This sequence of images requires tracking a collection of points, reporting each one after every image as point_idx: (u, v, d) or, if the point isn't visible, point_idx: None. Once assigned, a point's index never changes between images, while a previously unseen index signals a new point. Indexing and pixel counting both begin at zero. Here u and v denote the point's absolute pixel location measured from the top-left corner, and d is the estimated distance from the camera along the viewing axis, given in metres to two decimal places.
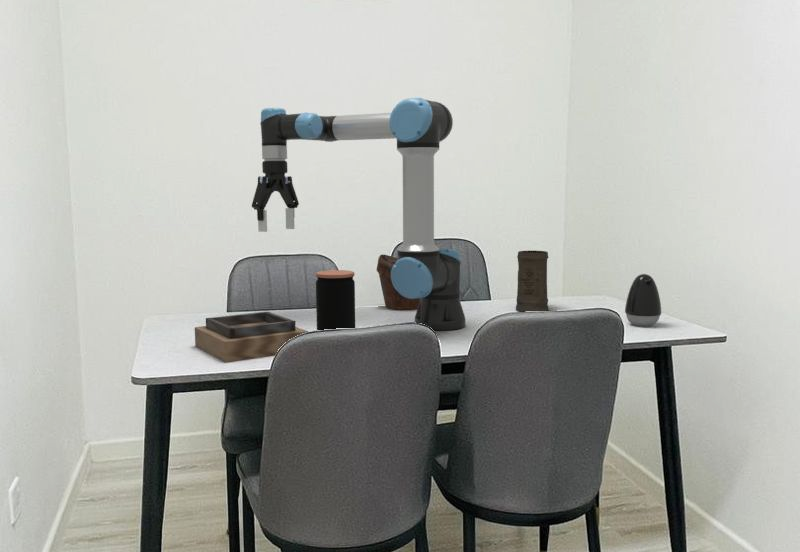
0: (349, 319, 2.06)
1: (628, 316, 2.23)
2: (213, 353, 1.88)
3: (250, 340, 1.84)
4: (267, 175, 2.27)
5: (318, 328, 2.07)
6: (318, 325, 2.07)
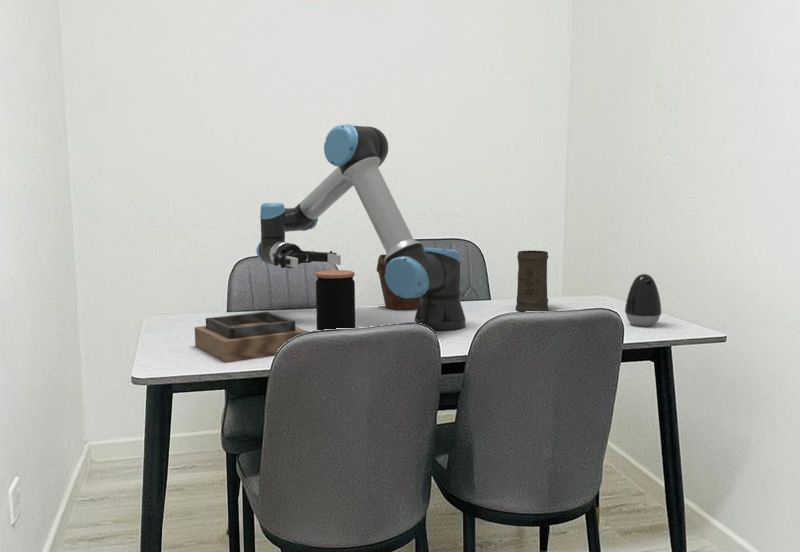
0: (349, 319, 2.06)
1: (628, 316, 2.23)
2: (213, 353, 1.88)
3: (250, 340, 1.84)
4: None
5: (318, 328, 2.07)
6: (318, 325, 2.07)
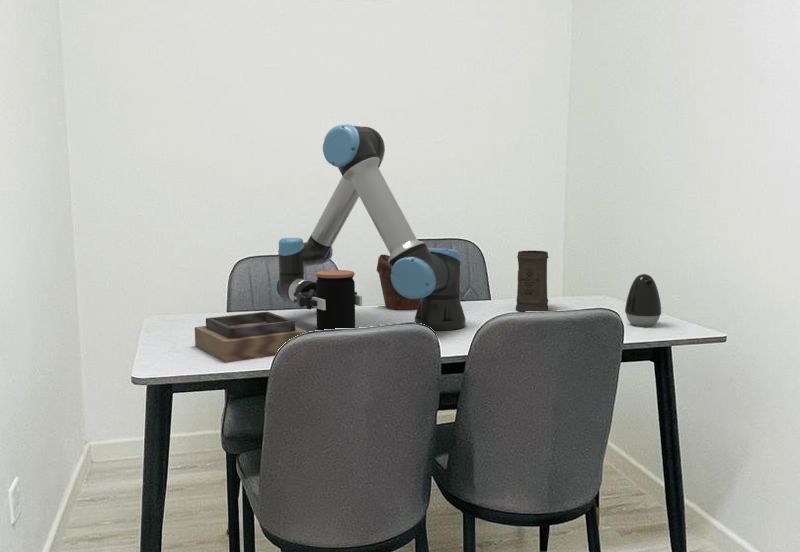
0: (349, 319, 2.06)
1: (628, 316, 2.23)
2: (213, 353, 1.88)
3: (250, 340, 1.84)
4: None
5: (318, 328, 2.07)
6: (318, 325, 2.07)
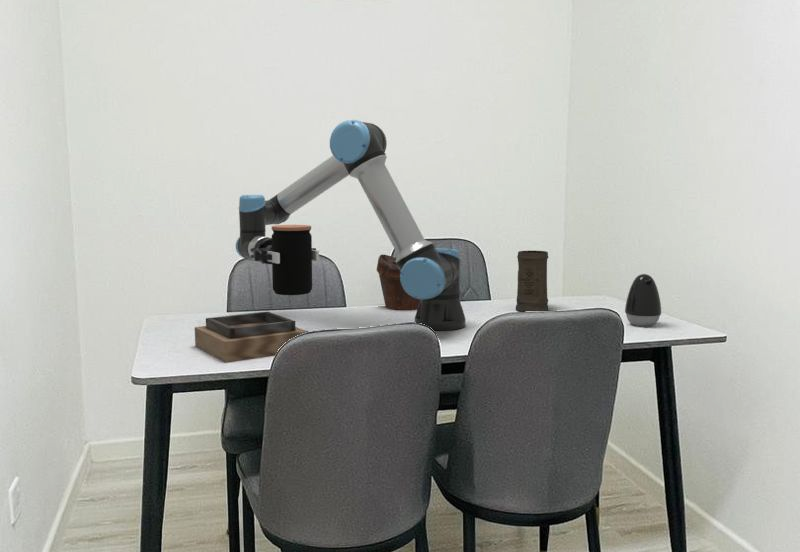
0: (304, 274, 2.00)
1: (628, 316, 2.23)
2: (213, 353, 1.88)
3: (250, 340, 1.84)
4: None
5: (273, 283, 2.02)
6: (273, 280, 2.01)
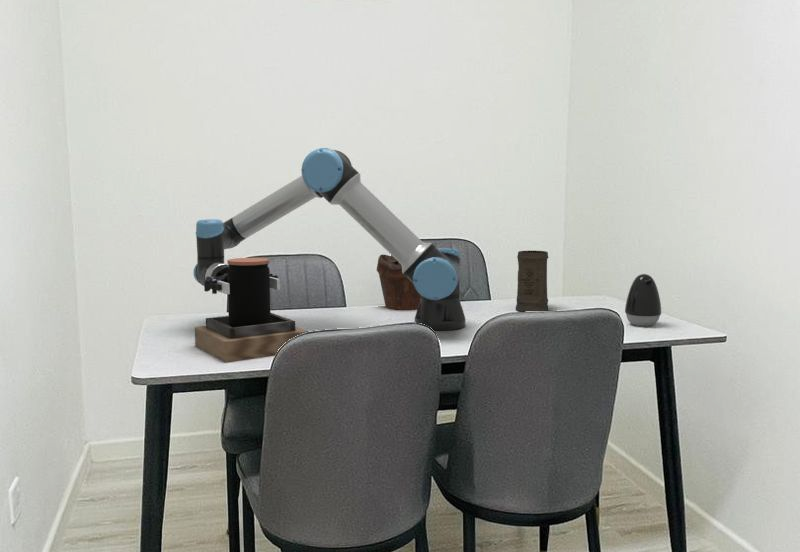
0: (262, 310, 1.92)
1: (628, 316, 2.23)
2: (213, 353, 1.88)
3: (250, 340, 1.84)
4: None
5: (229, 319, 1.93)
6: (229, 316, 1.93)
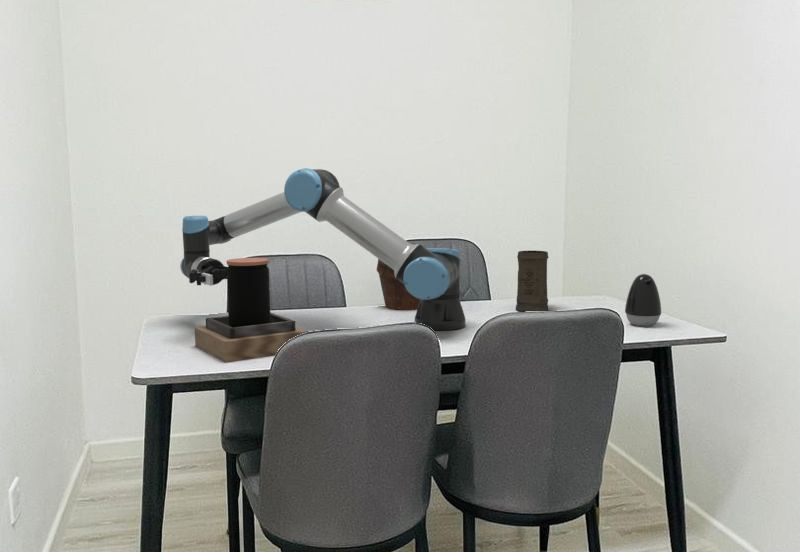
0: (262, 310, 1.92)
1: (628, 316, 2.23)
2: (213, 353, 1.88)
3: (250, 340, 1.84)
4: None
5: (229, 320, 1.93)
6: (229, 316, 1.93)
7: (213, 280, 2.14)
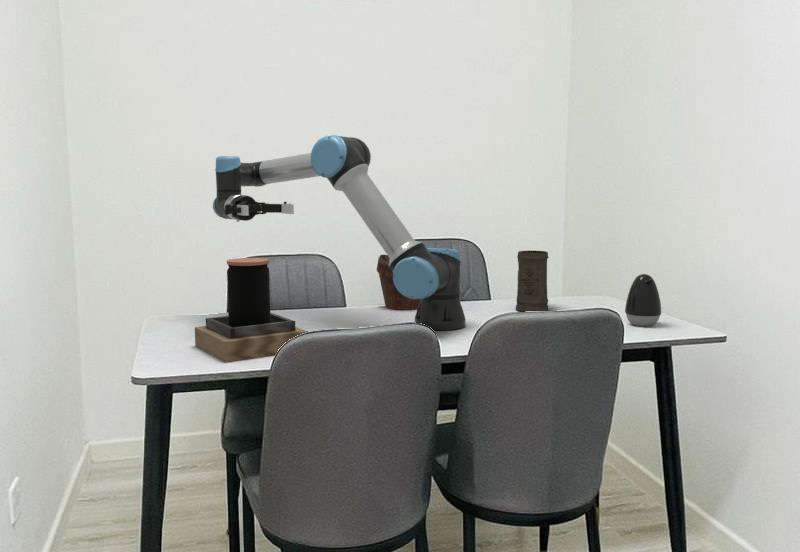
0: (262, 310, 1.92)
1: (628, 316, 2.23)
2: (213, 353, 1.88)
3: (250, 340, 1.84)
4: None
5: (229, 319, 1.93)
6: (229, 316, 1.93)
7: None
